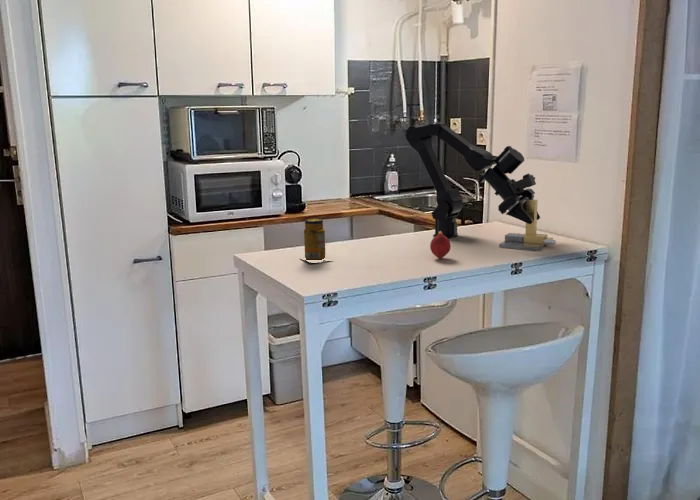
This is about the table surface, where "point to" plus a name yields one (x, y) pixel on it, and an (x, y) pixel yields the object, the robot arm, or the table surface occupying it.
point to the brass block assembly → (533, 225)
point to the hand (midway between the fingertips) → (535, 221)
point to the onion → (440, 245)
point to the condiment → (314, 239)
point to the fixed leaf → (517, 242)
